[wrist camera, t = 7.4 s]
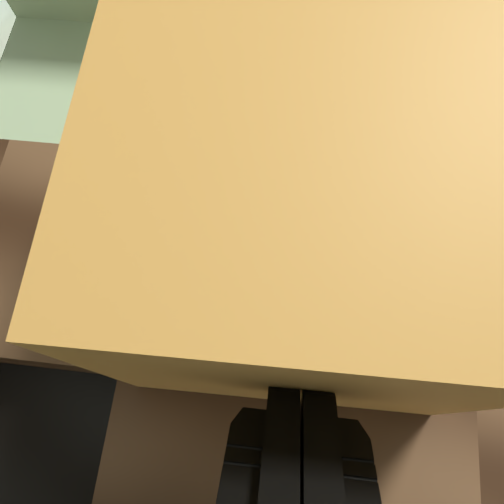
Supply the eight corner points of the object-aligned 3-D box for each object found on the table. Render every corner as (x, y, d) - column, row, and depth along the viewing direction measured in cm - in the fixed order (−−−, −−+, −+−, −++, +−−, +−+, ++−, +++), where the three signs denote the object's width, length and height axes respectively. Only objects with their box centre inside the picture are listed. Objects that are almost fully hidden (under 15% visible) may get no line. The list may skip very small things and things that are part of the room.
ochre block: (430, 415, 14) (611, 398, 7) (136, 386, 15) (5, 341, 7) (422, 155, 17) (539, -51, 10) (179, 139, 18) (116, -69, 10)
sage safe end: (634, 226, 19) (809, 128, 13) (5, 170, 21) (-104, 60, 15) (609, 83, 21) (745, -56, 15) (47, 43, 23) (-31, -96, 17)
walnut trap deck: (775, 1010, 12) (902, 1155, 9) (-215, 824, 13) (-316, 907, 11) (612, 101, 21) (655, 60, 19) (42, 59, 23) (16, 16, 20)
